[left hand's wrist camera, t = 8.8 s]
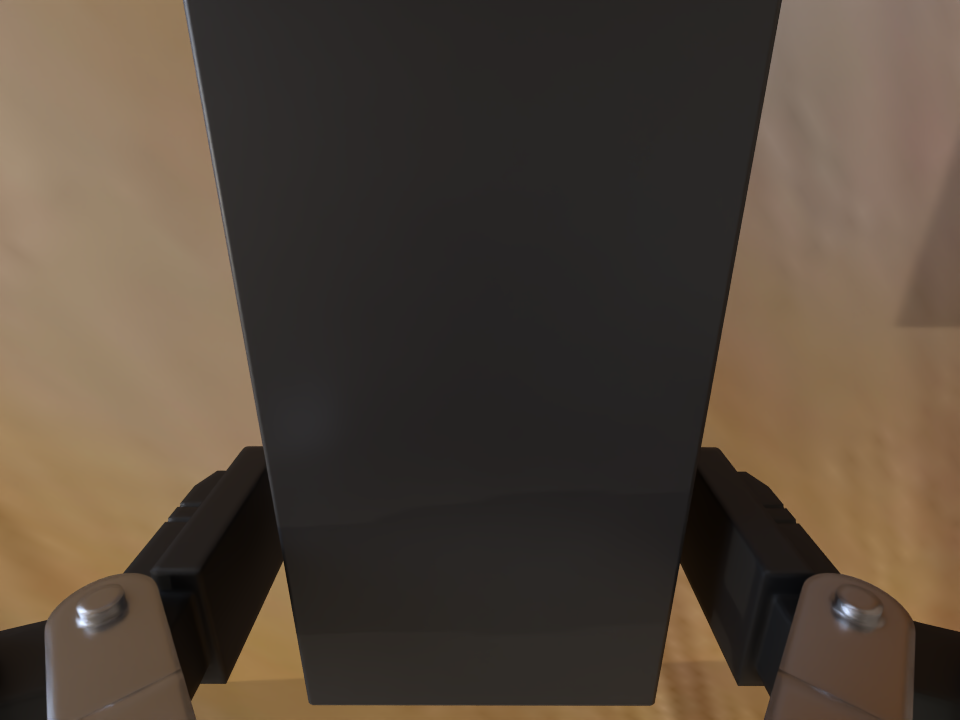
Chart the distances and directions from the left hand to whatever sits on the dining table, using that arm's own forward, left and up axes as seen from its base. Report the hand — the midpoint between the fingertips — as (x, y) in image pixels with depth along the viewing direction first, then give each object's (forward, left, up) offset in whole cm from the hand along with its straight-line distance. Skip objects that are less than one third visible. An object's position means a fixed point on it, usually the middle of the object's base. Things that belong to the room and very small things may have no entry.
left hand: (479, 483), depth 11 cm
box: (+8, +2, -7) cm, 11 cm away
